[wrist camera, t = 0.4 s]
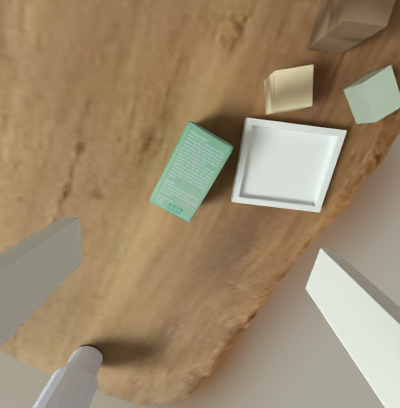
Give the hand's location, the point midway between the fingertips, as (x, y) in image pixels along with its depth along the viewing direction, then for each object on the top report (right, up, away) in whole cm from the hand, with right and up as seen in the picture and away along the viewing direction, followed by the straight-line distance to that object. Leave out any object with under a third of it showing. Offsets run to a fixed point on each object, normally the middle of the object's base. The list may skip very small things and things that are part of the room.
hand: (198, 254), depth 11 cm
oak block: (+13, +20, +21) cm, 32 cm away
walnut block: (+19, +28, +18) cm, 38 cm away
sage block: (+26, +20, +21) cm, 39 cm away
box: (-1, +9, +25) cm, 27 cm away
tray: (+15, +9, +24) cm, 30 cm away
